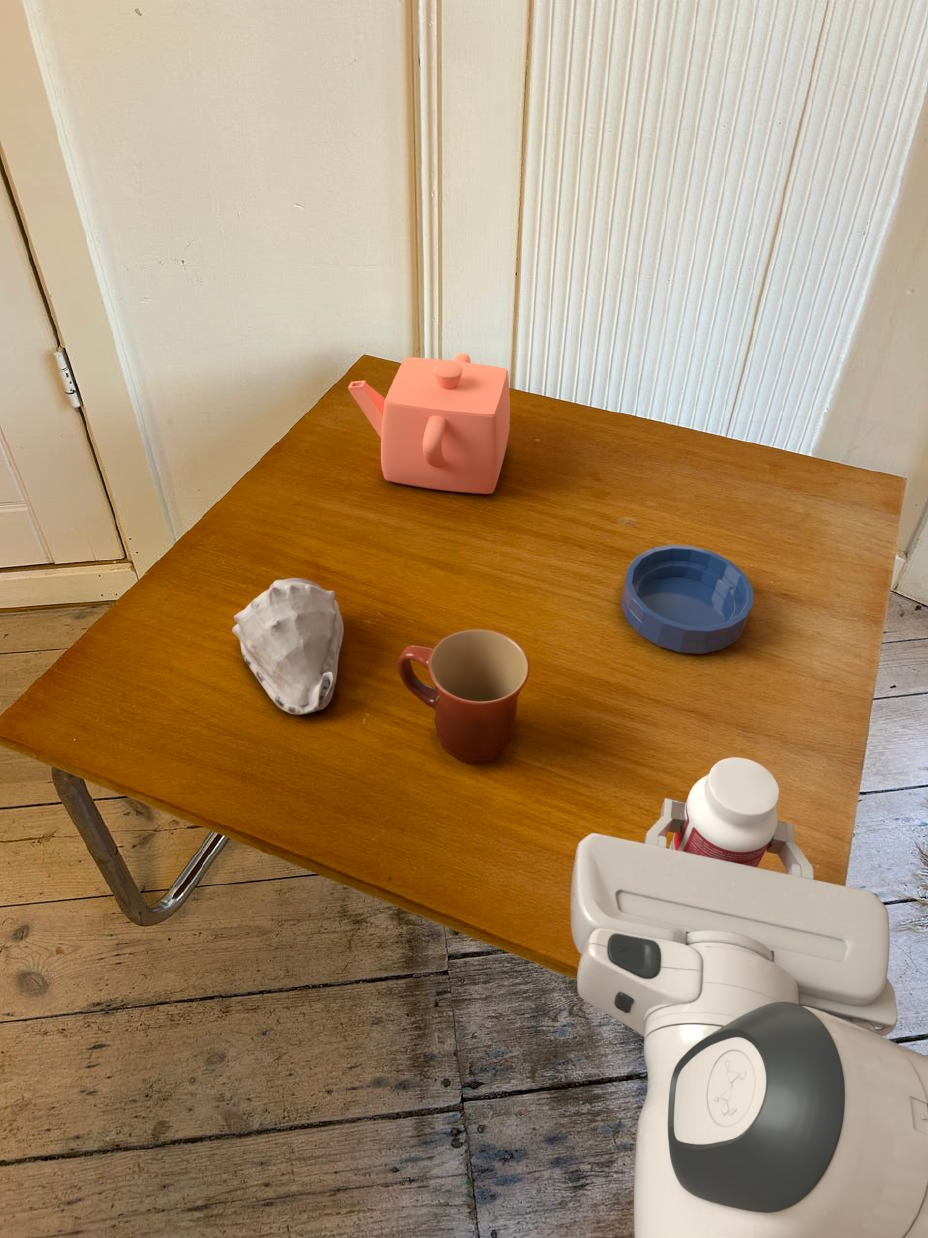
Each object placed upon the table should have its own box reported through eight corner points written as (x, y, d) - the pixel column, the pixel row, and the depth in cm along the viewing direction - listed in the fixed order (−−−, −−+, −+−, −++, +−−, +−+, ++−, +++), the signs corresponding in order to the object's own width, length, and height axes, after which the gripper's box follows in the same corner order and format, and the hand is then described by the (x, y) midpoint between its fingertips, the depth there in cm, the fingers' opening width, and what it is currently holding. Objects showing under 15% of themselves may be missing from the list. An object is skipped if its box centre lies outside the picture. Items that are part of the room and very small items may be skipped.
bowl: (743, 582, 98) (753, 555, 96) (743, 668, 89) (754, 641, 86) (626, 562, 100) (632, 535, 97) (614, 644, 91) (620, 617, 88)
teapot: (514, 426, 120) (522, 332, 110) (490, 523, 104) (496, 424, 95) (375, 409, 122) (370, 315, 112) (331, 502, 106) (321, 403, 97)
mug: (532, 717, 84) (542, 645, 76) (501, 788, 78) (509, 716, 70) (420, 680, 86) (419, 607, 79) (381, 745, 81) (377, 672, 73)
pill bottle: (762, 897, 64) (808, 816, 56) (685, 913, 63) (721, 833, 55) (726, 825, 68) (764, 740, 60) (653, 840, 67) (683, 755, 59)
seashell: (300, 733, 81) (288, 662, 74) (219, 652, 88) (200, 580, 81) (398, 668, 88) (395, 597, 80) (315, 597, 94) (306, 526, 87)
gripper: (922, 1029, 48) (893, 821, 58) (563, 946, 51) (591, 761, 61) (881, 1067, 53) (860, 868, 62) (552, 988, 56) (581, 809, 65)
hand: (725, 814), depth 62 cm, fingers closed on pill bottle, 6 cm apart
